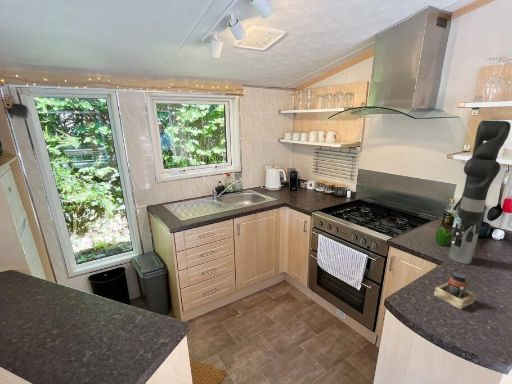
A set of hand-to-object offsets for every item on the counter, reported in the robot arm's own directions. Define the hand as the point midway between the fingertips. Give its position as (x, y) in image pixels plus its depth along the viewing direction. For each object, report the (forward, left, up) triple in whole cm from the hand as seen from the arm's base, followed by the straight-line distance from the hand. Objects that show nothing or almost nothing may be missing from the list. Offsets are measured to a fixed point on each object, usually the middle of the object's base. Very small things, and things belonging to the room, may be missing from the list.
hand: (462, 244), depth 110 cm
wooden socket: (+3, -5, -23) cm, 24 cm away
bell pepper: (-30, +47, -23) cm, 60 cm away
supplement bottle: (+3, -5, -23) cm, 24 cm away
